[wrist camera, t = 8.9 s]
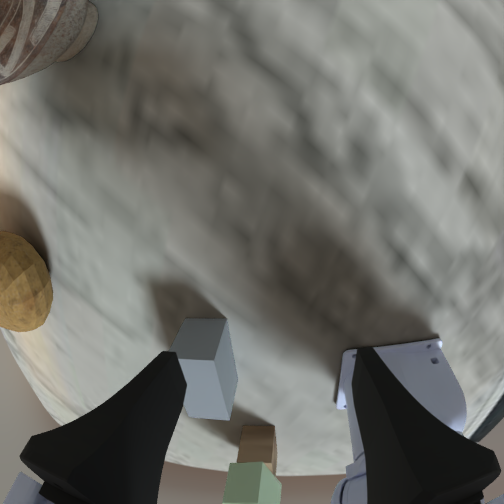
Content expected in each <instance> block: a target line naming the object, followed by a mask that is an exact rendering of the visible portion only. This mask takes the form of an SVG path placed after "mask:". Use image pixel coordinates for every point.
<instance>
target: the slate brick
mask: <svg viewBox="0 0 504 504" xmlns="http://www.w3.org/2000/svg"><path fill="white" fill-rule="evenodd" d="M169 351H170V352H176V354H177V357H178V360H179V363H180V366H181V369H182V371H183V374H184V377H185V380H186V383H187V389H186V394H185V399H184V403H183V404H184V407H185V409H186V412H187V414H188V416H189V417H194V418H204V419H215V420H230V417H231V412H232V407H233V402H234V397H235V392H236V387H237V382H238V376H237V371H236V365H235V360H234V355H233V349H232V344H231V338H230V333H229V327H228V322H227V319H204V318H185V320H184V322H183V324H182V326H181V328H180V330H179V332H178V334H177V336H176V338H175V340H174V342H173V344H172V346H171V348H170V350H169Z"/></svg>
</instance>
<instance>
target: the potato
mask: <svg viewBox="0 0 504 504" xmlns="http://www.w3.org/2000/svg"><path fill="white" fill-rule="evenodd" d="M52 301H53V289H52V284H51V278H50V275H49V272H48V270H47V267H46V264H45V262H44V260H43V259H42V258H41V257H40V255H39V254H38V253H37V252H36V250H35V249H34V248H33V246H32V245H31V244H29V243H28V242H27V241H26V240H25V239H24V238H23V237H20V236H18V235H16V234H13V233H10V232H6V231H0V327H3V328H6V329H9V330H13V331H16V332H26V331H31V330H34V329H36V328H38V327H40V326H41V325H43V324H44V322H45V320H46V318H47V316H48V314H49V312H50V308H51V304H52Z"/></svg>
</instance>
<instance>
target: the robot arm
mask: <svg viewBox="0 0 504 504" xmlns="http://www.w3.org/2000/svg"><path fill="white" fill-rule="evenodd" d="M442 343H443V342H442V340H441V339H440V338H438V339H432V340H426V341H419V342H412V343H405V344H398V345H390V346H382V347H368V348H359V349H352V350H346V351H345V352H344V353H343V357H342V365H341V373H340V381H339V388H338V394H337V401H336V408H337V409H347V413H348V420H349V427H350V435H351V443H352V451H353V460H354V463H352V464H350V465H348V466H346V476H347V478H345V479H342V480H341V481H340V482H339V483H338V484H337V486H336V488H335V490H334V493H333V496H332V499H331V504H485V502H484V496H483V492H482V490H483V489H485V488H486V487H487V486H488V485H489V484H491V483H492V482H493V481H494V480H495V479H496V478H497V477H498V476H499V475H500V473H501V469H500V466H499V463H498V460H497V457H496V455H495V453H494V451H492V450H490V449H488V448H486V447H484V446H481V445H479V444H477V443H475V442H473V441H471V440H469V439H467V438H466V437H464V436H463V434H462V431H463V429H464V426H465V422H466V401H465V397H464V394H463V391H462V389H461V387H460V385H459V383H458V381H457V379H456V377H455V375H454V373H453V371H452V369H451V367H450V365H449V364H448V362H447V360H446V358H445V356H444V354H443V352H442V351H441V347H442ZM354 354H356V355H354ZM353 355H354V356H353ZM186 389H187V383H186V380H185V377H184V374H183V371H182V369H181V366H180V363H179V360H178V357H177V354H176V352H170V351H162V352H161V353H160V354H159V355H158V356H157V357H156V358H155V359H153V360H152V361H151V362H150V363H149V364H148V365H147V366H146V367H145V368H144V369H143V370H142V371H141V372H140V373H139V374H138V375H137V376H136V377H134V378H133V379H132V380H131V381H130V382H129V383H128V384H127V385H125V386H124V387H123V388H122V389H121V390H119V391H118V392H117V393H116V394H115V395H113V396H112V397H111V398H110V399H108V400H107V401H105V402H104V403H103V404H101V405H100V406H98V407H97V408H95V409H94V410H92V411H90V412H89V413H87V414H85V415H83V416H81V417H80V418H78V419H76V420H74V421H72V422H70V423H68V424H65V425H63V426H61V427H58V428H56V429H53V430H50V431H47V432H44V433H41V434H37V435H34V436H32V437H31V438H30V440H29V441H28V443H27V445H26V446H25V448H24V449H23V451H22V453H21V454H20V459H21V461H22V462H23V463H24V464H25V465H27V467H28V468H30V469H31V470H32V471H33V472H34V473H35V474H37V475H38V476H39V477H40V478H41V479H43V480H44V483H43V485H41V484H40V483H38V482H36V481H35V480H33V479H32V478H30V477H29V476H27V475H26V474H24V473H22V472H20V473H19V475H18V476H17V478H16V480H15V482H14V483H13V485H12V487H11V489H10V491H9V493H8V495H7V497H6V499H5V500H4V502H3V504H157V498H158V491H159V485H160V479H161V473H162V468H163V464H164V460H165V455H166V452H167V449H168V445H169V443H170V440H171V437H172V435H173V432H174V429H175V426H176V424H177V421H178V418H179V415H180V413H181V410H182V407H183V403H184V399H185V394H186ZM486 504H504V494H503V495H501V496H499V497H497V498H495V499H494V500H491V501H489V502H488V503H486Z"/></svg>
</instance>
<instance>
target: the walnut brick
mask: <svg viewBox="0 0 504 504" xmlns="http://www.w3.org/2000/svg"><path fill="white" fill-rule="evenodd" d="M246 462H263V463H264V464H265V465H266V466H267V468H268V469H269V470H270V471H271V472H272V474H273V475H274V476H275V477H276V466H277V444H276V434H275V426H248V425H243V428H242V434H241V440H240V445H239V451H238V457H237V463H246Z"/></svg>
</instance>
